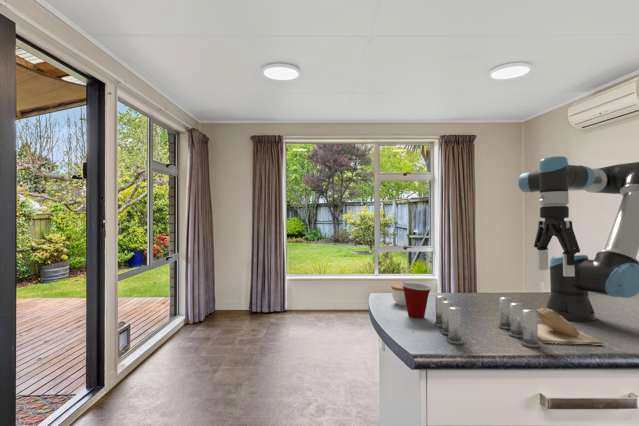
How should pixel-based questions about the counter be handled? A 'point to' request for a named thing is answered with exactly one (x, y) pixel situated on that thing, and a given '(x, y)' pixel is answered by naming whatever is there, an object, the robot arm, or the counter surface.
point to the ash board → (562, 337)
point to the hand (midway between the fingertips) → (555, 272)
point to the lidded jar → (398, 294)
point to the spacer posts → (511, 319)
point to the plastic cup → (416, 299)
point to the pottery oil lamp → (557, 322)
